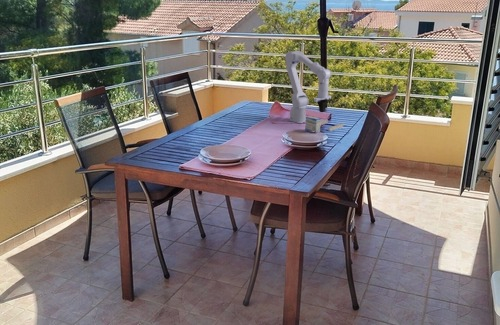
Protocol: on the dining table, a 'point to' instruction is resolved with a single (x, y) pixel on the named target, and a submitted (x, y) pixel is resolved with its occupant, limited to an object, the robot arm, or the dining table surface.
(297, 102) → the robot arm
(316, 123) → the medicine box
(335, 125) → the parallel bars
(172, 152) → the dining table surface
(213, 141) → the dining table surface
